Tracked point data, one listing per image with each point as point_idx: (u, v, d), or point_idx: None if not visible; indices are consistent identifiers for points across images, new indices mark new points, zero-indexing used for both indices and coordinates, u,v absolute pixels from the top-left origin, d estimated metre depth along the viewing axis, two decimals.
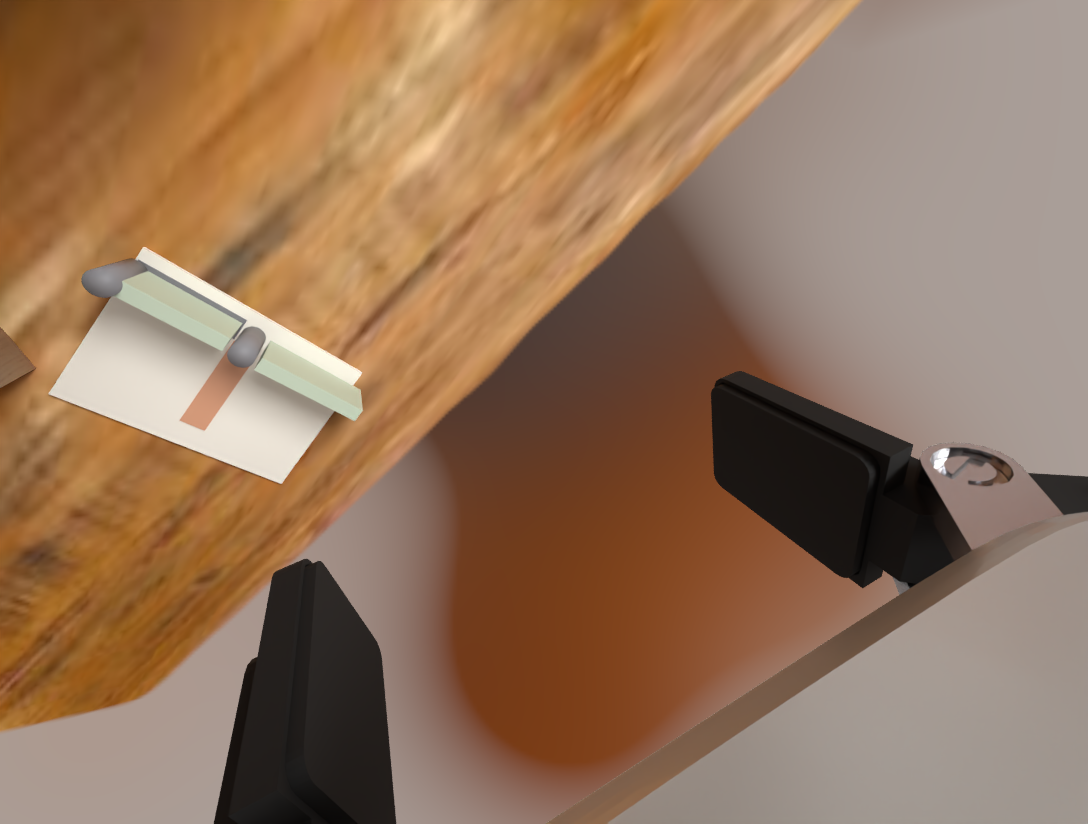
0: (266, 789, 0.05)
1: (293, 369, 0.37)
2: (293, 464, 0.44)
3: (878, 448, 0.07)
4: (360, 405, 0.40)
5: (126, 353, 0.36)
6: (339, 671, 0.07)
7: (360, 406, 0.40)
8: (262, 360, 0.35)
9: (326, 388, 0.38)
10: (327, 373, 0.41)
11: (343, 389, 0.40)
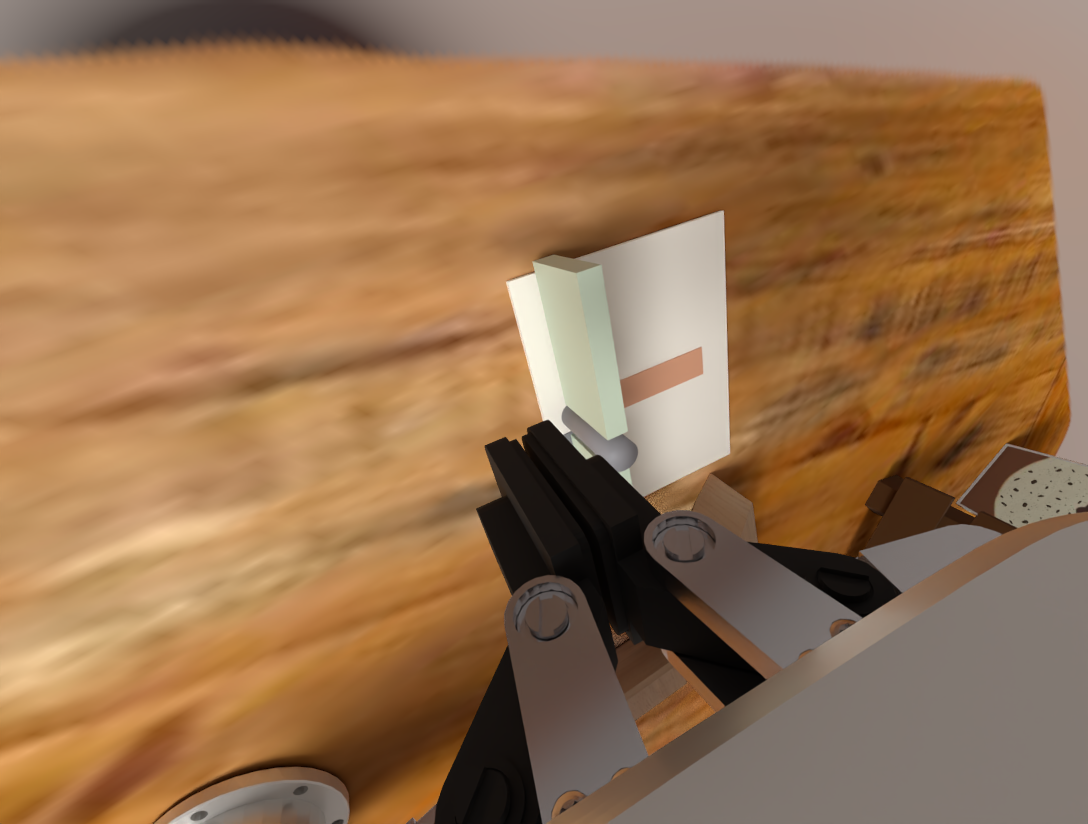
0: (568, 545, 0.07)
1: (591, 394, 0.22)
2: (690, 224, 0.26)
3: (608, 516, 0.07)
4: (567, 274, 0.19)
5: (666, 456, 0.33)
6: None
7: (570, 275, 0.19)
8: (610, 437, 0.23)
9: (584, 344, 0.21)
10: (550, 325, 0.24)
11: (559, 303, 0.22)
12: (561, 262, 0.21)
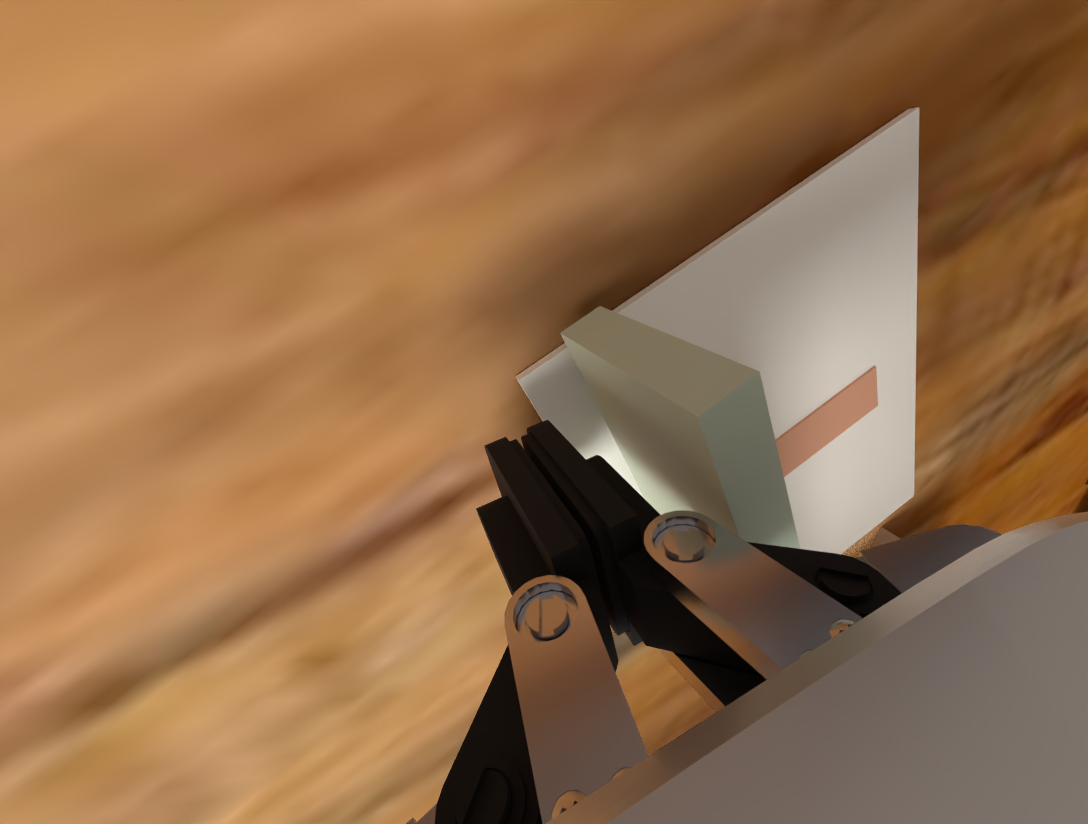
0: (568, 545, 0.07)
1: None
2: (856, 155, 0.13)
3: (608, 517, 0.07)
4: (664, 402, 0.07)
5: (822, 534, 0.21)
6: None
7: (673, 408, 0.07)
8: None
9: None
10: (618, 437, 0.12)
11: (640, 428, 0.10)
12: (630, 344, 0.09)
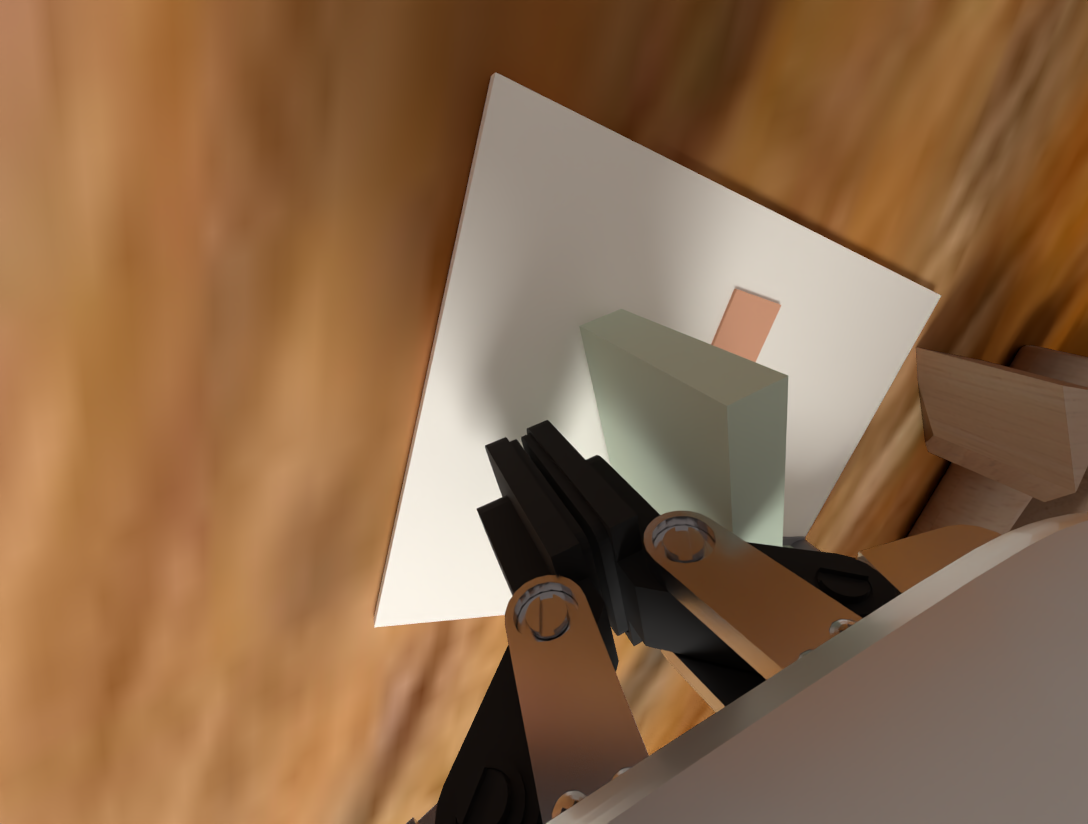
0: (569, 545, 0.07)
1: None
2: (473, 208, 0.09)
3: (607, 517, 0.07)
4: (689, 394, 0.08)
5: (827, 426, 0.17)
6: None
7: (698, 399, 0.07)
8: None
9: None
10: (612, 443, 0.12)
11: (646, 428, 0.10)
12: (654, 342, 0.09)
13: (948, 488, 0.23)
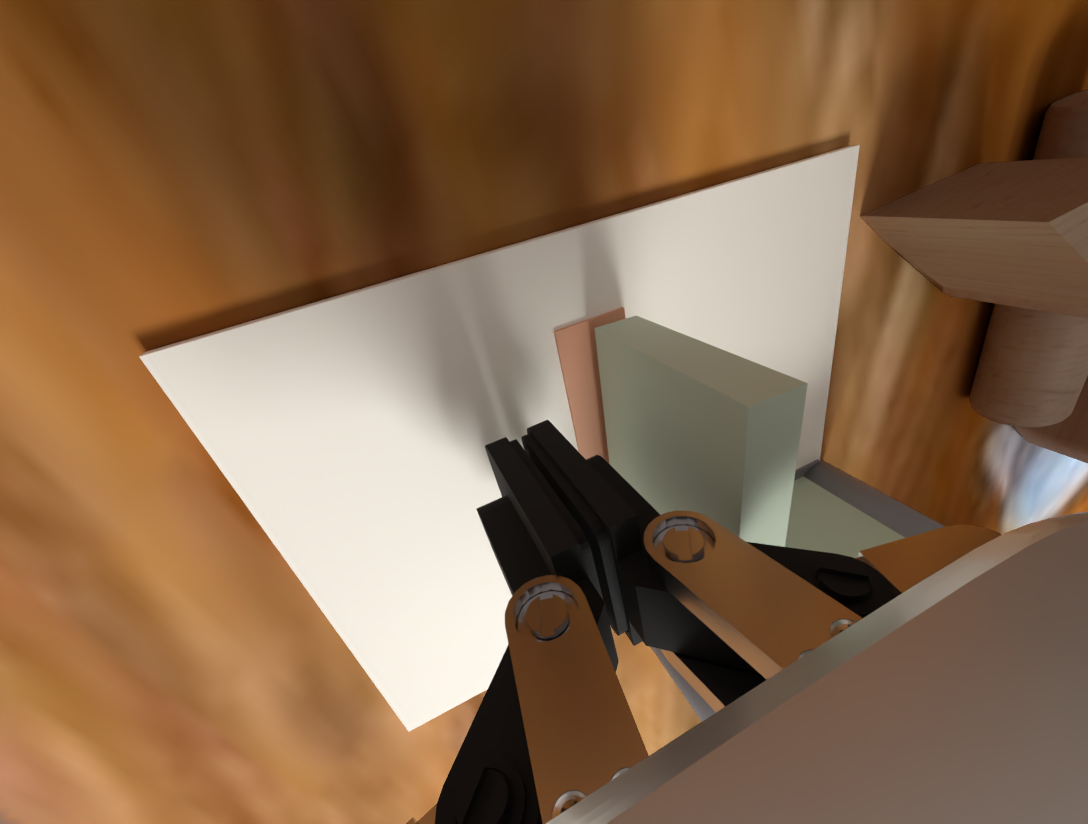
0: (568, 545, 0.07)
1: None
2: (222, 458, 0.09)
3: (608, 516, 0.07)
4: (708, 395, 0.08)
5: (777, 361, 0.15)
6: None
7: (717, 400, 0.08)
8: None
9: None
10: (615, 449, 0.12)
11: (656, 432, 0.10)
12: (671, 346, 0.09)
13: (1000, 322, 0.18)
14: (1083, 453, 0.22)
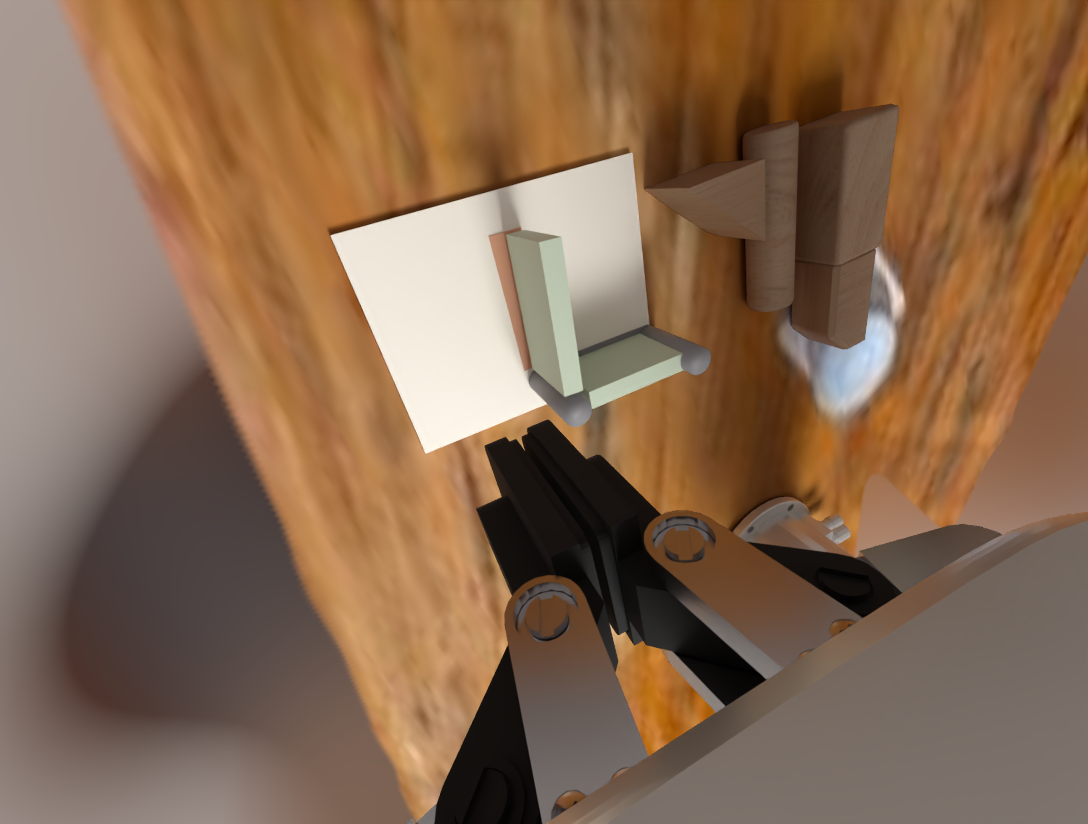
0: (568, 545, 0.07)
1: (552, 355, 0.25)
2: (353, 281, 0.24)
3: (608, 516, 0.07)
4: (532, 244, 0.22)
5: (608, 261, 0.29)
6: None
7: (534, 245, 0.22)
8: (567, 394, 0.26)
9: (545, 307, 0.24)
10: (520, 293, 0.27)
11: (527, 272, 0.24)
12: (529, 235, 0.24)
13: (746, 251, 0.33)
14: (820, 336, 0.37)
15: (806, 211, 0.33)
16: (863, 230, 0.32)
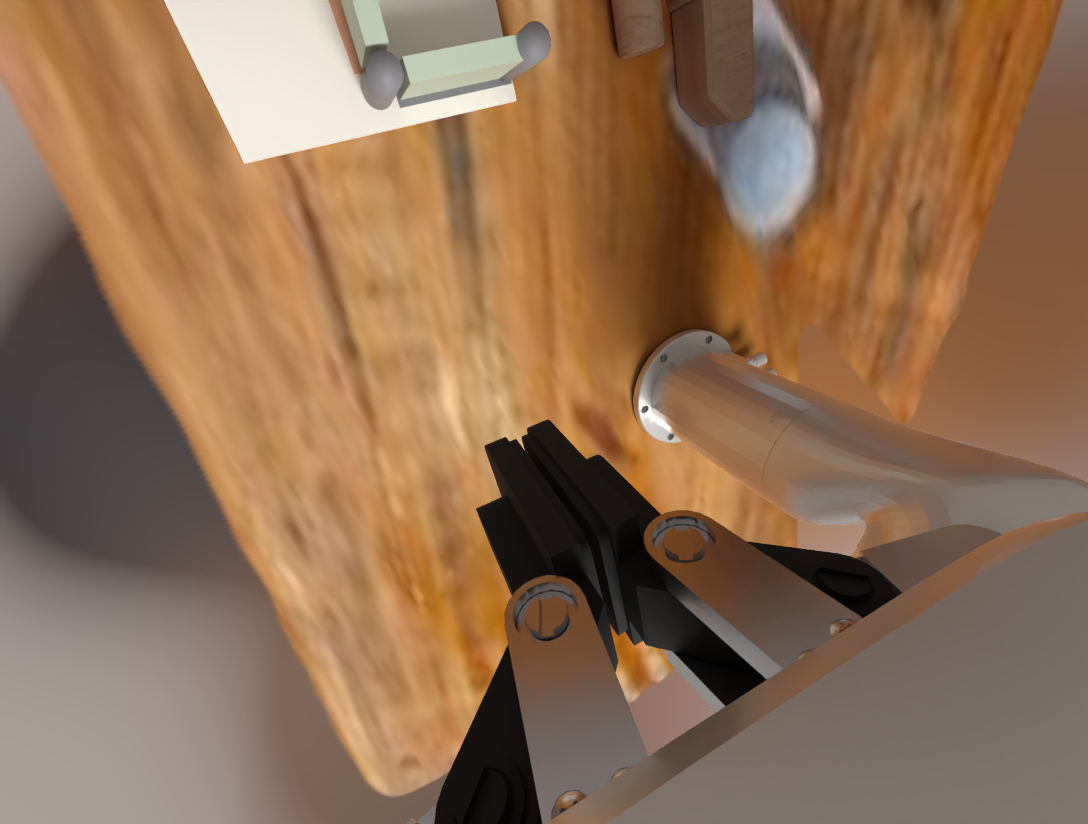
0: (568, 545, 0.07)
1: None
2: None
3: (608, 516, 0.07)
4: None
5: None
6: None
7: None
8: (368, 42, 0.23)
9: None
10: None
11: None
12: None
13: None
14: (703, 101, 0.34)
15: None
16: None
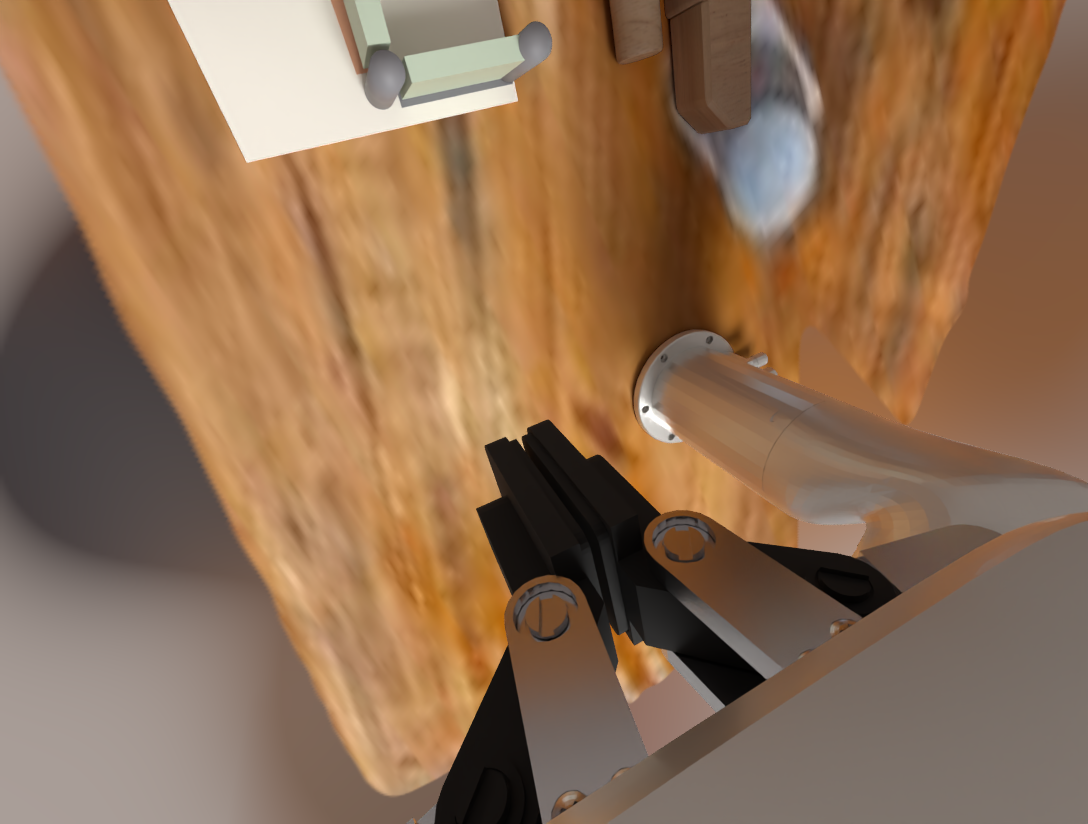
0: (568, 545, 0.07)
1: None
2: None
3: (608, 516, 0.07)
4: None
5: None
6: None
7: None
8: (370, 42, 0.23)
9: None
10: None
11: None
12: None
13: None
14: (700, 107, 0.34)
15: None
16: None
